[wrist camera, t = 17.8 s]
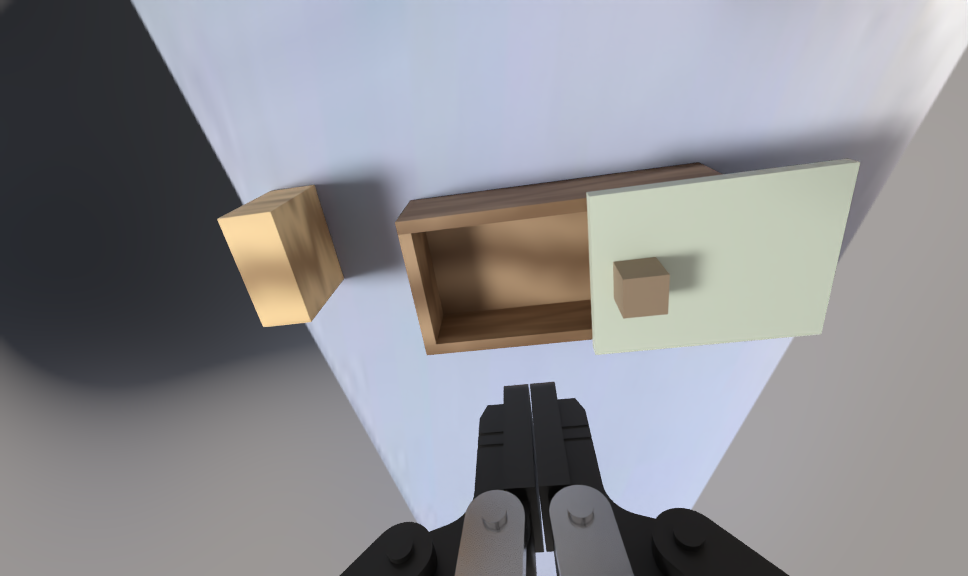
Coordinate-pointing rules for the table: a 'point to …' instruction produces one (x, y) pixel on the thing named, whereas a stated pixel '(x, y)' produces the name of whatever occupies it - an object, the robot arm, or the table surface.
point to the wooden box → (509, 261)
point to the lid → (716, 256)
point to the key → (284, 254)
